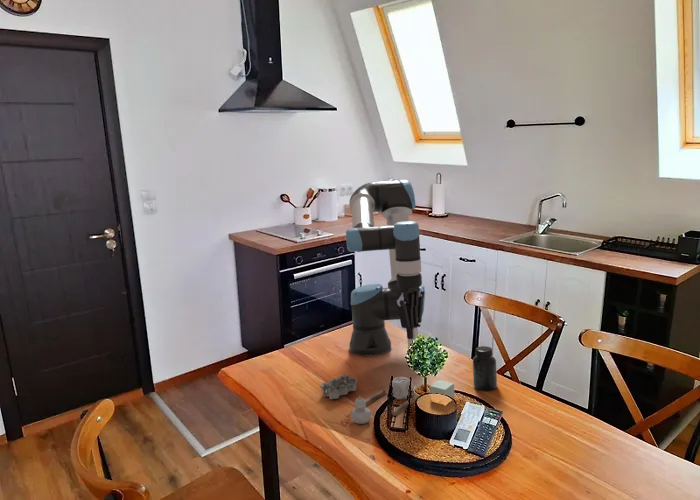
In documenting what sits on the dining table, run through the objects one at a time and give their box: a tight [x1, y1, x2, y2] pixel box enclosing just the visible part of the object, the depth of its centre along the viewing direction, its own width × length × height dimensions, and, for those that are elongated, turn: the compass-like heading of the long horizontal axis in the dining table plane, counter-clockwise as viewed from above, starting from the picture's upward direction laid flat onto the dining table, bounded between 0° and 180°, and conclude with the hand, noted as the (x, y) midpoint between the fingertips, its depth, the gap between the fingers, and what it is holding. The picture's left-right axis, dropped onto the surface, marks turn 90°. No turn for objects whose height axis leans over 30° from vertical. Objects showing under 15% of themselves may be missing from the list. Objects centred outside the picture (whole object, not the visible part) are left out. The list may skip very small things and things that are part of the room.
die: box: [391, 376, 414, 400], centre depth 149 cm, size 5×5×5 cm
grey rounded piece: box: [350, 394, 372, 425], centre depth 135 cm, size 5×7×8 cm
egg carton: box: [319, 373, 359, 400], centre depth 153 cm, size 11×8×4 cm
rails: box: [364, 389, 416, 417], centre depth 144 cm, size 10×12×1 cm
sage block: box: [429, 379, 456, 401], centre depth 144 cm, size 5×5×5 cm
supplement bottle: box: [472, 345, 498, 392], centre depth 150 cm, size 7×7×12 cm
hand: (413, 347), depth 154 cm, fingers closed
